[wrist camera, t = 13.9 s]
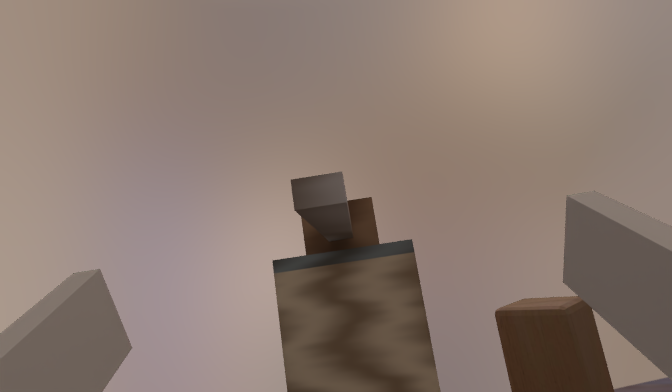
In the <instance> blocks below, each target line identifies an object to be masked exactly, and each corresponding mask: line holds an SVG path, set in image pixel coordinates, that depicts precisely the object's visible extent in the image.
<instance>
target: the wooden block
mask: <svg viewBox="0 0 672 392" xmlns="http://www.w3.org/2000/svg"><path fill="white" fill-rule="evenodd" d="M495 317H496V322H497V326H498V331H499V335H500V340H501V344H502V348H503V353H504V358H505V363H506V367H507V372H508V376H509V381H510V385H511V389H512V392H614V389H613V386H612V382H611V378H610V375H609V371H608V367H607V363H606V360H605V356H604V352H603V348H602V345H601V341H600V338H599V334H598V330H597V326H596V323H595V319H594V315H593V311H592V308H591V307H590V306H589V305H588V304H587V303H586V302H585V301H583V300H582V299H581V298H580V297H579V296H574V297H573V296H572V297H550V298H530V299H522V300H519V301H517V302H514V303H511V304H509V305H506V306H504V307H501V308H499V309H497V310H496V312H495Z"/></svg>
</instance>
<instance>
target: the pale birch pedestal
mask: <svg viewBox="0 0 672 392" xmlns="http://www.w3.org/2000/svg"><path fill="white" fill-rule="evenodd" d="M273 269H274V277H275V286H276V295H277V304H278V312H279V321H280V331H281V338H282V348H283V357H284V366H285V374H286V383H287V392H440V387H439V382H438V377H437V371H436V366H435V360H434V355H433V350H432V344H431V339H430V333H429V328H428V323H427V317H426V312H425V307H424V301H423V296H422V291H421V285H420V280H419V274H418V269H417V264H416V258H415V253H414V248H413V243H412V240H404V241H397V242H392V243H385V244H378V245H371V246H365V247H358V248H352V249H345V250H339V251H332V252H325V253H319V254H312V255H306V256H300V257H293V258H287V259H280V260H273Z"/></svg>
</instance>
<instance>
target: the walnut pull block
mask: <svg viewBox="0 0 672 392" xmlns="http://www.w3.org/2000/svg"><path fill="white" fill-rule="evenodd" d="M291 185H292V194H293V202H294V209H295V211H296V212H297V213H298V214H299V215H300V216H301V218H302V226H303V233H304V241H305V248H306V255H312V254H319V253H325V252H332V251H339V250H345V249H352V248H358V247H365V246H371V245H378V244H379V239H378V233H377V227H376V221H375V215H374V210H373V204H372V198H371V197H369V198H362V199H356V200H350V201H347V197H346V191H345V185H344V180H343V174H342V172H337V173H331V174H324V175H318V176H312V177H306V178H299V179H293V180H291Z"/></svg>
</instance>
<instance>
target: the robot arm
mask: <svg viewBox="0 0 672 392" xmlns="http://www.w3.org/2000/svg"><path fill="white" fill-rule="evenodd" d="M563 283H565V284H566V285H567V286H568V287H569V288H570V289H571V290H572V291H573V292H575V293H576V294H577V295H578V296H579V297H580V298H581V299H582V300H583V301H585V302H586V303H587V304H588V305H589V306H590V307H591V308H592V309H593V310H595V311H596V312H597V313H598V314H599V315H600V316H601V317H602V318H603V319H605V320H606V321H607V322H608V323H609V324H610V325H611V326H612V327H613V328H615V329H616V330H617V331H618V332H619V333H620V334H621V335H622V336H623V337H624V338H626V339H627V340H628V341H629V342H630V343H631V344H632V345H633V346H634V347H636V348H637V349H638V350H639V351H640V352H641V353H642V354H643V355H645V356H646V357H647V358H648V359H649V360H650V361H651V362H652V363H653V364H655V365H656V366H657V367H658V368H659V369H660V370H661V371H662V372H663V373H665V374H666V375H667V376H668V377H669V378H670V379H671V380H672V226H670V225H667V224H665V223H663V222H661V221H659V220H657V219H655V218H652V217H650V216H648V215H646V214H643V213H641V212H639V211H637V210H635V209H633V208H631V207H628V206H626V205H624V204H622V203H620V202H617V201H615V200H613V199H611V198H609V197H607V196H604V195H602V194H600V193H598V192H596V191H592V192H585V193H579V194H573V195H567V200H566V224H565V249H564V272H563ZM131 349H132V346H131V344H130V341H129V339H128V337H127V334H126V332H125V329H124V327H123V324H122V322H121V319H120V317H119V315H118V312H117V310H116V307H115V305H114V302H113V300H112V298H111V295H110V293H109V290H108V288H107V285H106V283H105V280H104V278H103V275H102V273H101V270H100V269H97V270H91V271H84V272H78V273H73V274H72V275H71V276H70V277H68V278H67V279H66V280H65V281H63V282H62V283H61V284H60V285H59V286H57V287H56V288H55V289H54V290H53V291H51V292H50V293H49V294H48V295H46V296H45V297H44V298H43V299H42V300H40V301H39V302H38V303H37V304H36V305H34V306H33V307H32V308H31V309H30V310H28V311H27V312H26V313H25V314H23V315H22V316H21V317H20V318H19V319H17V320H16V321H15V322H14V323H13V324H11V325H10V326H9V327H8V328H6V329H5V330H4V331H3V332H2V333H0V392H102V391H103V390H104V388H105V387H106V386H107V384H108V383H109V381H110V380H111V378H112V377H113V375H114V374H115V372H116V371H117V369H118V368H119V366H120V365H121V363H122V362H123V361H124V359H125V358H126V356H127V355H128V353H129V352H130V350H131Z"/></svg>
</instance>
